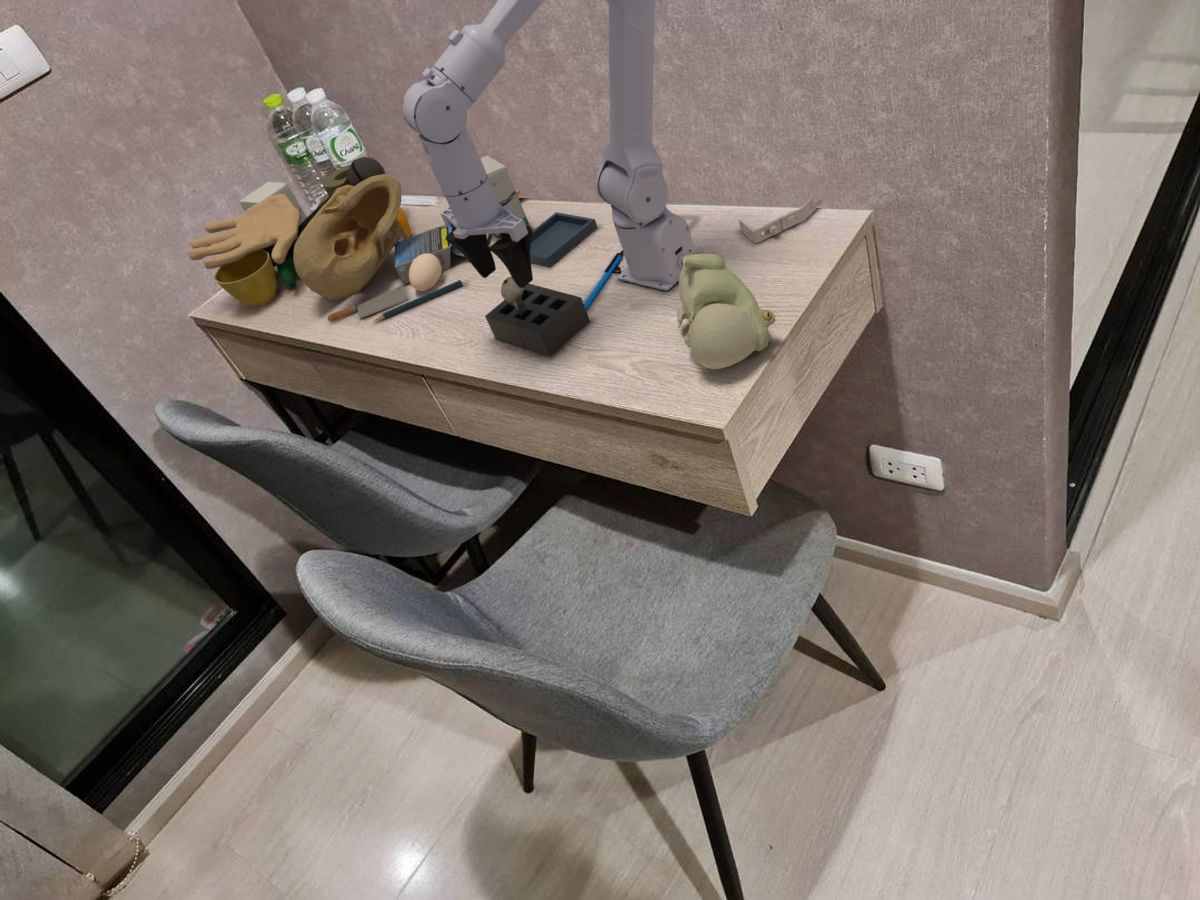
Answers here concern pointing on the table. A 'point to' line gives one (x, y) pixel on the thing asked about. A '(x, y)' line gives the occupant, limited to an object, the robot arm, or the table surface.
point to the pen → (603, 279)
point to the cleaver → (373, 305)
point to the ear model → (349, 237)
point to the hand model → (250, 233)
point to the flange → (335, 181)
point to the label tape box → (422, 250)
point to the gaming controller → (288, 272)
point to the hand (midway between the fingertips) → (507, 278)
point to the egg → (424, 272)
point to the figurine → (720, 313)
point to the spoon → (514, 296)
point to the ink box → (503, 188)
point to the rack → (539, 320)
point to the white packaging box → (271, 190)
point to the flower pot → (249, 279)
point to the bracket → (780, 222)
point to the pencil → (420, 300)
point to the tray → (558, 237)
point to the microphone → (351, 180)
